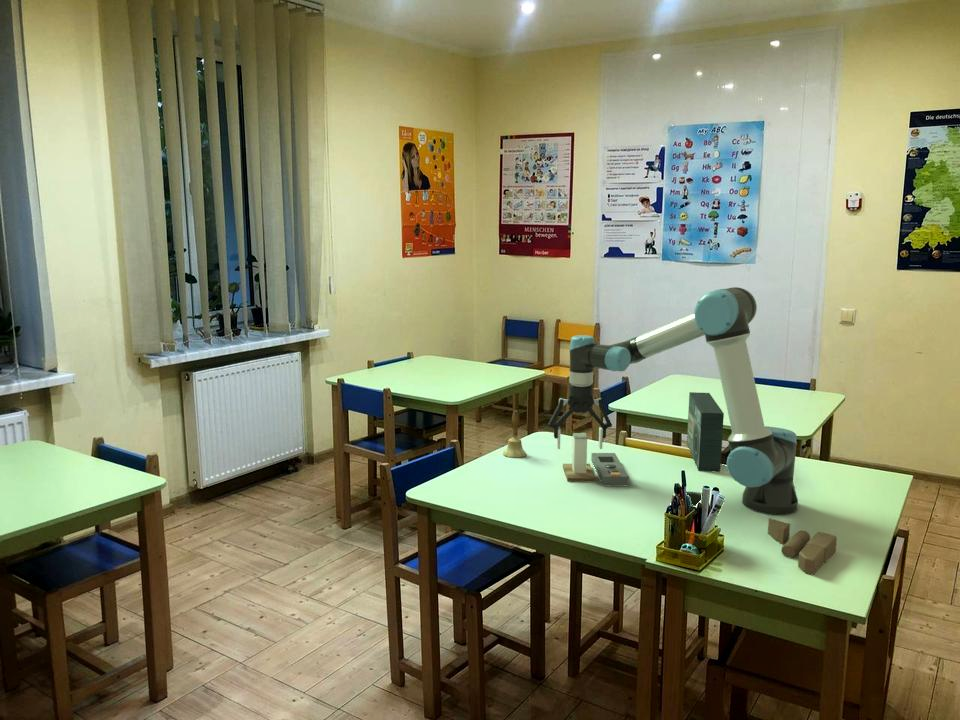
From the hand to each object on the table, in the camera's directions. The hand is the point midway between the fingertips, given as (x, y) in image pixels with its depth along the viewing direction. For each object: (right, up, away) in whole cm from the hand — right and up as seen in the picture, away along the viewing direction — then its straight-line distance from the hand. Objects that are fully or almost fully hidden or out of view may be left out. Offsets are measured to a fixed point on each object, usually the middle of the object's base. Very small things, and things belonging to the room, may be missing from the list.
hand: (579, 447), depth 242 cm
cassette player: (+45, -6, +18) cm, 49 cm away
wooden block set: (+45, -20, -56) cm, 74 cm away
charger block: (0, -8, +1) cm, 8 cm away
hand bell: (-20, -5, +22) cm, 30 cm away
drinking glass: (+22, -19, -49) cm, 57 cm away
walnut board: (0, -9, +2) cm, 9 cm away
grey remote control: (+10, -9, +3) cm, 13 cm away
